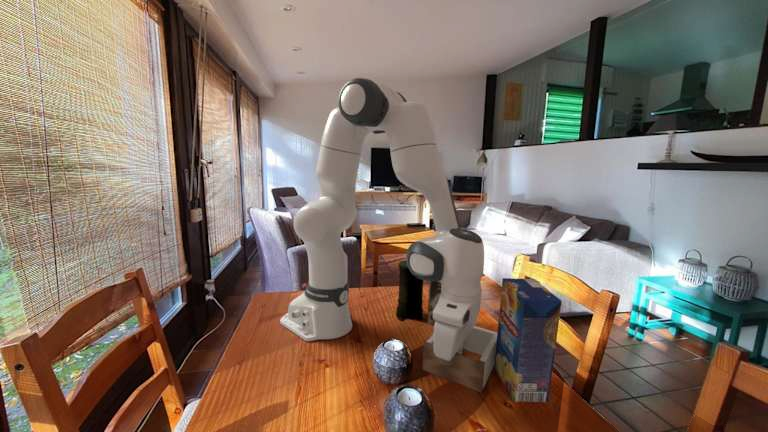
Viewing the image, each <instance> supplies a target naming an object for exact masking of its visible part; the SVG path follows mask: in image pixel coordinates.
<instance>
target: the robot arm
mask: <svg viewBox="0 0 768 432" xmlns="http://www.w3.org/2000/svg"><path fill="white" fill-rule="evenodd" d="M337 102H338V107H336V108H333V109H332V110H331V111H330V113H329V116H328V118H327V120H326V123H325V126H324V130H323V134H322V136H321V143H320V147H319V152H318V160H317V164H316V170H315V174H316V178H317V180H318V183H319V197H318V199H317V200H314V201H310V202H308V203H307V204H305V205H303V206H302V207H301V208H300V209H299V210H298V211H296V213H295V215H294V217H293V228H294V229H293V230H294V231H295V234H296V236H298V237H299V239H301V240H302V242H303V243H304V247H305V250H306V253H307V259H308V281H307V282H304V283H302V284H301V288H303V289H304V288H305V290H304V292H303V293H301V294H300V295H298V296H297V297H296V298H294V299H292V300H291V301H290V303H289V305H288V309H287V313H285V314H284V315H283V316H282V317H281V318H280V320H279V323H280V325H281V326H283V327H284V328H286V329H288V330H289V331H291V333H294V334H295V335H296V336H298V337H300V338H301V339H302V340H304V341H306V342H312V341H317V340H333V339H334V340H335V339H338V338H341V337H343V336H346V335H348V333H349V332H350V331H352V329H353V322H352V318H351V314H350V307H349V295H350V292H349V291H350V286H349V280H348V255H347V253H346V252H344V248H343V243H342V239H341V234H342V232H345V231H346V230H349V228H350V227H352V225H353V224H354V222H355V221H356V218H357V215H358V209H357V206H356V185H357V184H356V183H357V177H358V172H359V167H360V163H361V157H362V153H363V149H364V148H363V147H364V143H365V139H366V138H367V136H368V135H369V134H370V133H371V132H372V133H373V134H375V135H379V134H384V133H385V135H386V136H387V139H388V142H389V150H390V158H391V164H392V168H393V172H394V174H395V177H396V178H397V180H398V181H399V182H400V183H401V184H403V185H404V186H406V187H407V188H409V189H412V190H415V191H416V192H417V193H419V194H421V195H422V196H424V198H425V199H426V200H427V202H428V204H429V206H430V207H429V208H430V211H431V215H432V219H433V223H434V227H435V235H433V236H429V237H425V238H422V239H419V240H416V241H414V242H412V243H411V244H409V246H408V249H407V251H406V257H405V260H406V261H407V265H408V268H409V270H410V272H411V273H412V274H413V275H414V276H415V277H417V278H418V279H421V280H423V281H428V282H430V281H439V282H441V294H440V298H439V301H438V303H437V305H436V307H435V309H434V311H433V319H435V320H436V322H435V325H433V333H434V353H435V355H436V356H437V357H439V358H441V359H444V360H447V361H450V360H452V358H453V356H454V355H455V354H456V353H459V354H462V355H463V349H462V348H463V345H464V342H465V339H466V338H467V336H468V335H469V333H470V332H471V330H472V329H473V328H474V326H476V324H477V323H478V318H479V314H480V313H481V304H482V292H483V291H482V290H483V289H482V283H481V281H482V277H483V275H484V270H485V269H484V268H485V247H484V245H485V244H484V242H483V239H482V237H481V235H479V234H478V233H476V232H474V231H473V230H469V229H466V228H462V227H461V224H460V219H459V216H458V211H457V208H456V204H455V200H454V197H453V192H452V189H451V185H450V182H449V180H448V178H447V176H446V174H445V172H444V169H443V166H442V164H441V163H442V162H441V159H440V155H439V151H438V145H437V139H436V135H435V131H434V126H433V123H432V120H431V117H430V113H429V111H428V109H427V107H426V106H425V105H424V104H422V103H420V102H418V101H407V99H406V98H405V97H404V96H403V95H402V93H401V92H398V91H396V90H395V89H392V88H391V87H390V86H388V85H385V84H382V83H379V82H375V81H373V80H371V79H370V78H363V77H355V78H353V79H350V80H349V81H348V80H347V82H346V83H344V85H343V86H342V88H341V90H340V92H339V95H338V101H337Z"/></svg>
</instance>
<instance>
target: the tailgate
mask: <svg viewBox="0 0 768 432" xmlns="http://www.w3.org/2000/svg"><path fill="white" fill-rule="evenodd" d="M422 351H423V353H422V371H424V372H427V373H430V374H433V375H435V376H438V377H441V378H443V379H446V380H447V381H451V382H452V383H456V384H458V385H461V386H463V387H466V388H469V389H471V390H474V391H475V392H479V393H483V392H482V391H483V390H484V388H483V378H484V367H485V362H482V361H480V359H476V358H473V357H470V356H467V355H465V354H463V353H462V354H459V353H456V354H455V355H454V356H453V358H452V360H450V361H447V360H444V359H441V358H439V357H437V356H436V355H435V353H434V345H433V344H430V343H427V342H426V341H425V342H424V343H423V349H422Z"/></svg>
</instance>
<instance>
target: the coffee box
mask: <svg viewBox="0 0 768 432" xmlns="http://www.w3.org/2000/svg"><path fill="white" fill-rule="evenodd" d="M440 294H441V282H439V281H429V287H428V298H427V299H428V300H427V301H428V303H427V311H426V312H427V314H426V316H427V317H426V320H427V324H428V325H432V326H434V325H435V322H436V320H435V319H433V311H434V309H435V307H436V305H437V303H438V301H439V298H440Z"/></svg>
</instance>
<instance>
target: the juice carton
mask: <svg viewBox="0 0 768 432" xmlns="http://www.w3.org/2000/svg"><path fill="white" fill-rule="evenodd" d="M562 302H563V301H562V300H561V299H560V298H559V297H558V296H556V295H555V294H554V293H552V292H551V291H550V290H549V289H548V288H547V287H546V286H544V285H542V283H540V282H539V281H538V280H537V279H535V278H508V277H502V283H501V291H500V301H499V303H500V304H499V313H498V322H497V323H498V324H497V331H496V332H497V342H496V352H495V362H494V367H493V368H494V369H495V371H496V373H497V374H498V376H499V378H500V380H501V382H502V384H503V386H504V387H505V389H506V392H507V393H508V395H509V397H510V398H511V400H512V402H517V403H518V402H522V403H530V402H531V403H549V399H550V391H551V383H552V376H553V367H554V362H555V361H554V360H555V354H556V353H555V352H556V347H557V338H558V330H559V322H560V315H561V309H562V308H561V307H562Z"/></svg>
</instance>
